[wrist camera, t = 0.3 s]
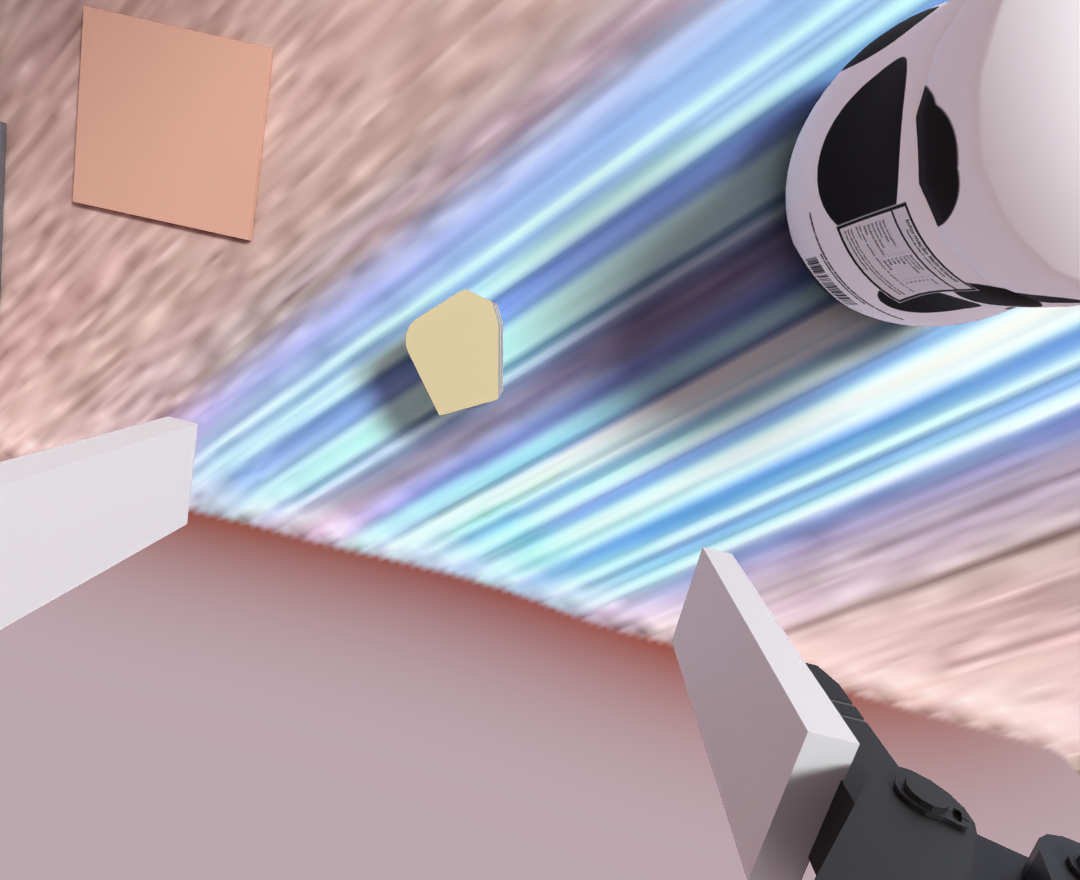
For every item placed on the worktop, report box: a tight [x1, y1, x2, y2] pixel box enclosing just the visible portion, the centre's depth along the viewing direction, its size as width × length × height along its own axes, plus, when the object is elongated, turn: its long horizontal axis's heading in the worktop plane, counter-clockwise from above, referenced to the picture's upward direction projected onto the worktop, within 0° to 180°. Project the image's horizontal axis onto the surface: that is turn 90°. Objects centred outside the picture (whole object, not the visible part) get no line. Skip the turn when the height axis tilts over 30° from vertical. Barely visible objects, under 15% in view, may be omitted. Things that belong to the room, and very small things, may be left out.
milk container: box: [786, 0, 1080, 327], centre depth 30 cm, size 17×17×18 cm
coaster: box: [73, 6, 273, 241], centre depth 39 cm, size 12×12×1 cm
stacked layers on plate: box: [406, 290, 503, 415], centre depth 39 cm, size 10×9×6 cm
